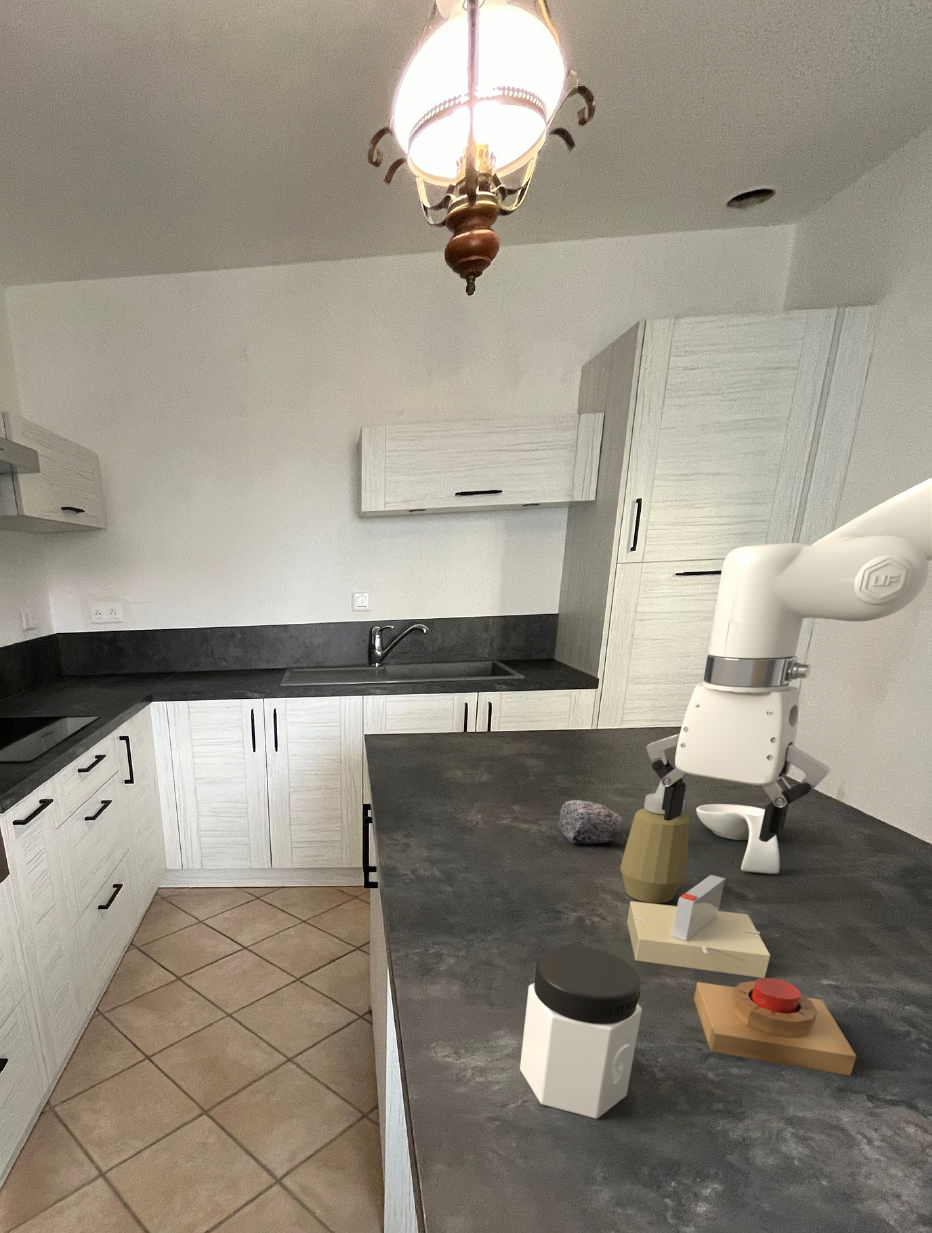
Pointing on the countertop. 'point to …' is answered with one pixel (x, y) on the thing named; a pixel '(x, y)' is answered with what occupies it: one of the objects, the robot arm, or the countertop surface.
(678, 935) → the red-tipped gray slab
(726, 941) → the base
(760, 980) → the button
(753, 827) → the spoon rest
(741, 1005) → the button block
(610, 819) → the pumice stone
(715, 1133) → the countertop surface
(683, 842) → the squeeze bottle
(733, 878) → the countertop surface
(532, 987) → the jar
